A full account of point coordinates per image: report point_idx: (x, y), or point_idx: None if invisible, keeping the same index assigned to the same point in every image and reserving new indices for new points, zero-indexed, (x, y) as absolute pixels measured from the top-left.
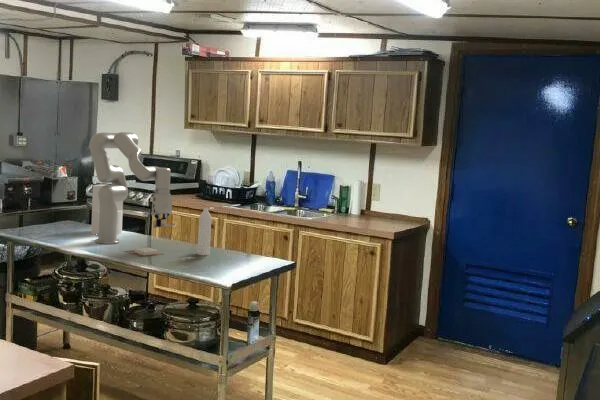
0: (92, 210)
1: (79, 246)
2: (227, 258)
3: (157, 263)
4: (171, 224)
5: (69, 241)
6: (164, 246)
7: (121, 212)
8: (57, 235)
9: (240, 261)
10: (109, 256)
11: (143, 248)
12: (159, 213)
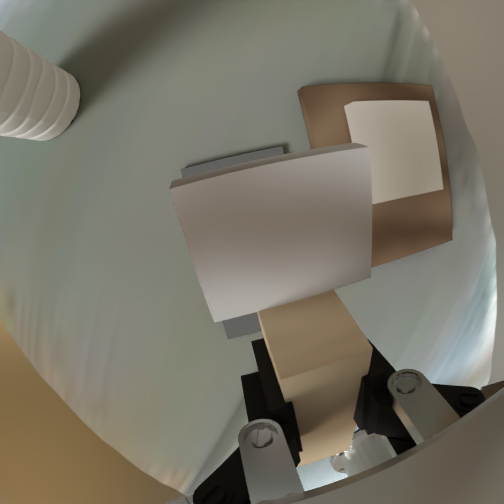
0: None
1: (463, 381)
2: (10, 33)
3: (374, 8)
4: (243, 165)
5: None
6: (179, 374)
7: None
8: None
9: None
10: (484, 213)
11: (407, 186)
12: (494, 394)
